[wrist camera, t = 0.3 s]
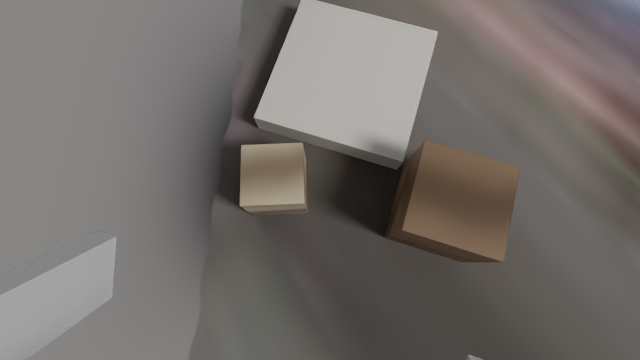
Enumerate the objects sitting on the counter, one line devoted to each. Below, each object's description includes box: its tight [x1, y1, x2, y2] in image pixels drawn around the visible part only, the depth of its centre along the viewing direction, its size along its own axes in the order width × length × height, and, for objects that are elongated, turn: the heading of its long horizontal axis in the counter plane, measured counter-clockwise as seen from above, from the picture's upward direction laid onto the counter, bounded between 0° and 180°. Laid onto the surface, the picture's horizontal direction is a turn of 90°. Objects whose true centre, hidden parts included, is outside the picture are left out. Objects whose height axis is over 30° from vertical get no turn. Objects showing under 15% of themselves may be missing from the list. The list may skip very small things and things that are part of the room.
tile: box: [254, 0, 438, 170], centre depth 31 cm, size 14×14×2 cm
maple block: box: [240, 143, 307, 215], centre depth 28 cm, size 5×5×5 cm
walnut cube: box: [384, 140, 520, 262], centre depth 26 cm, size 7×7×7 cm
